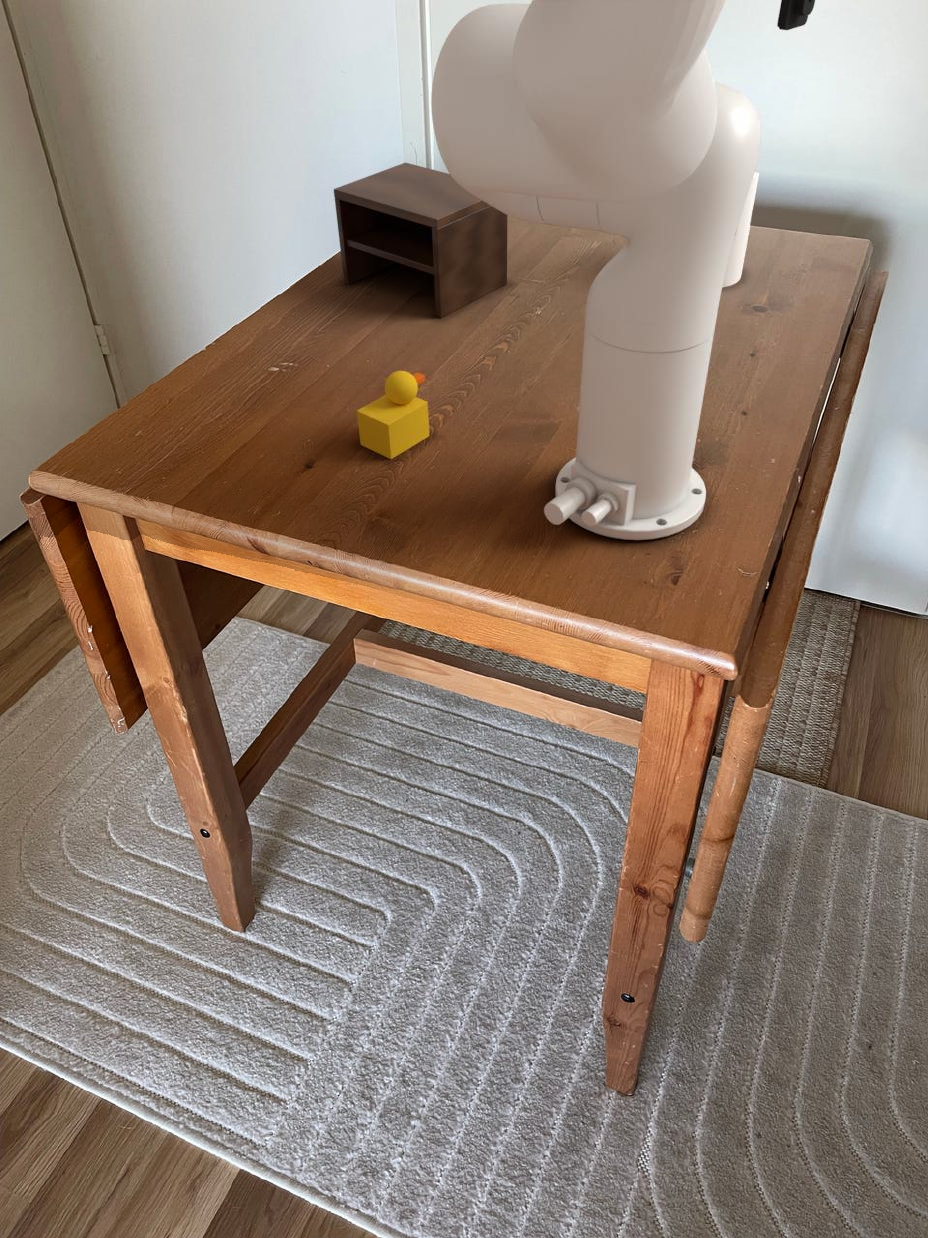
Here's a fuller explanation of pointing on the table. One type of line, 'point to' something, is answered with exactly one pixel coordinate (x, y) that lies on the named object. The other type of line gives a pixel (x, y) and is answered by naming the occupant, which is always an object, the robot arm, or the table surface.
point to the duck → (395, 417)
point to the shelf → (423, 232)
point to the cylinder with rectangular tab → (740, 238)
